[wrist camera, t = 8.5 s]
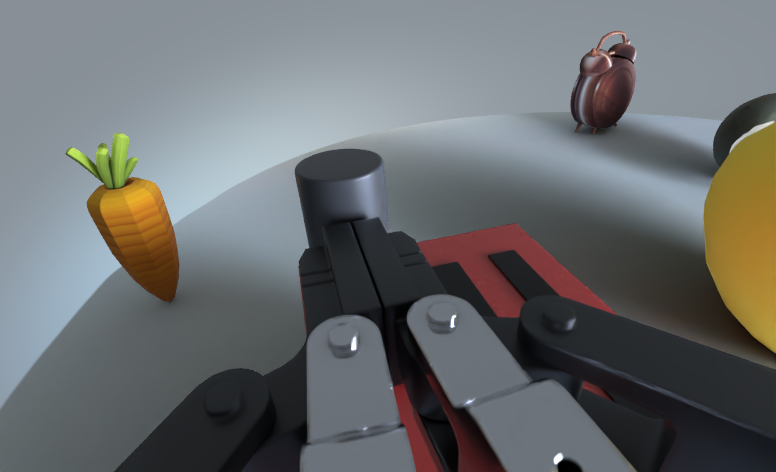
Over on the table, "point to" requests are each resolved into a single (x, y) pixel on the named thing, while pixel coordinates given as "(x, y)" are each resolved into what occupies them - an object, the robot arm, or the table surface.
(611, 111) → the alarm clock
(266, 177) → the table surface
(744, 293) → the vase
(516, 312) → the knife block
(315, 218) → the slider
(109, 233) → the carrot
